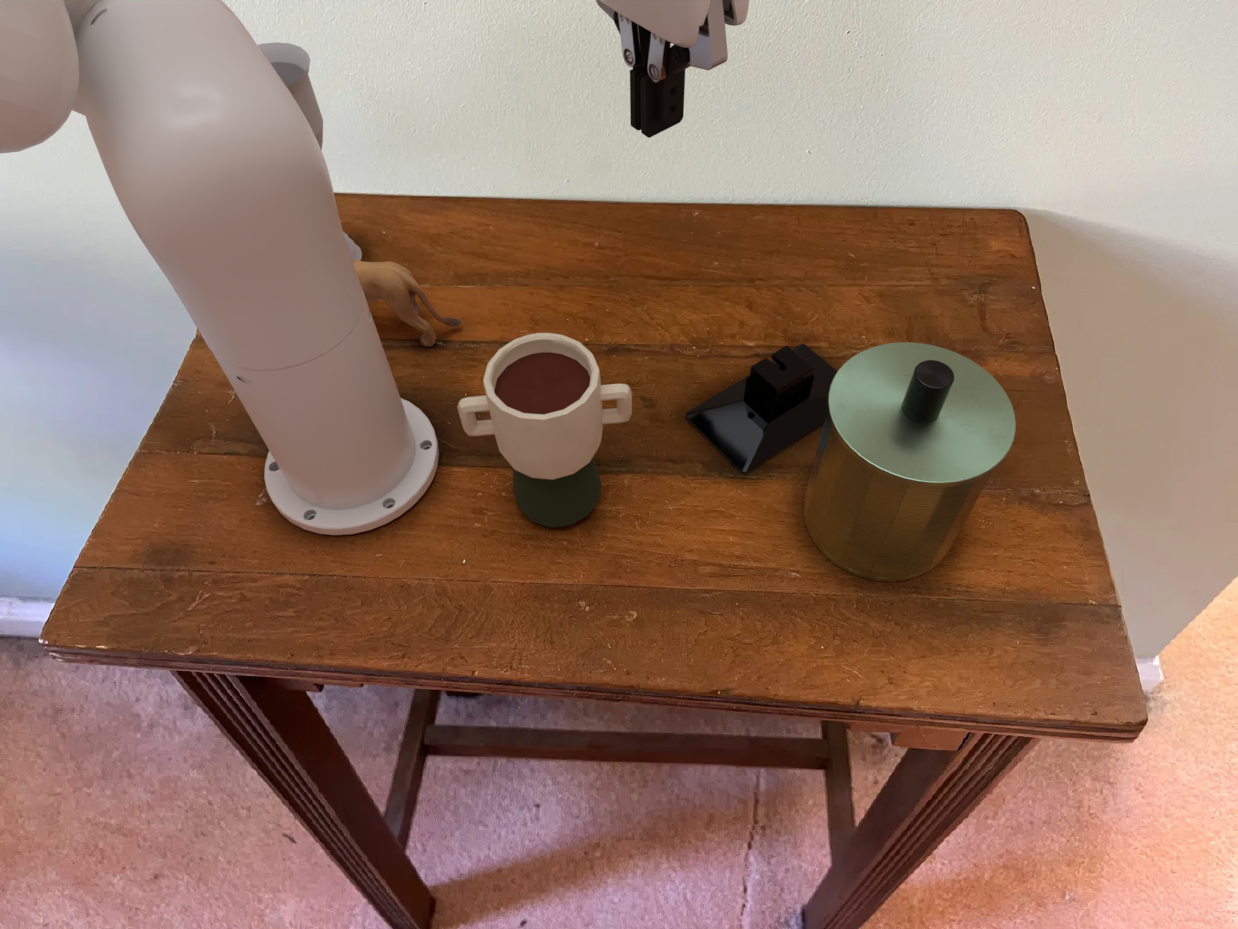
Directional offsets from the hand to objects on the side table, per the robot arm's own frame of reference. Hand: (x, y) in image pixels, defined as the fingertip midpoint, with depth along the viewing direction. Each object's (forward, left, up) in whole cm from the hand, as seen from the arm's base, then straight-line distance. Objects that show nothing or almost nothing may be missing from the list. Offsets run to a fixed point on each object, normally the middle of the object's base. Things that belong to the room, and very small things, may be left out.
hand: (657, 124), depth 57 cm
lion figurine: (-16, -18, -19) cm, 31 cm away
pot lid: (+24, 0, -8) cm, 25 cm away
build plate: (+12, +2, -19) cm, 23 cm away
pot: (+24, 0, -19) cm, 31 cm away
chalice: (-26, -16, -19) cm, 36 cm away
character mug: (+8, -16, -19) cm, 26 cm away
